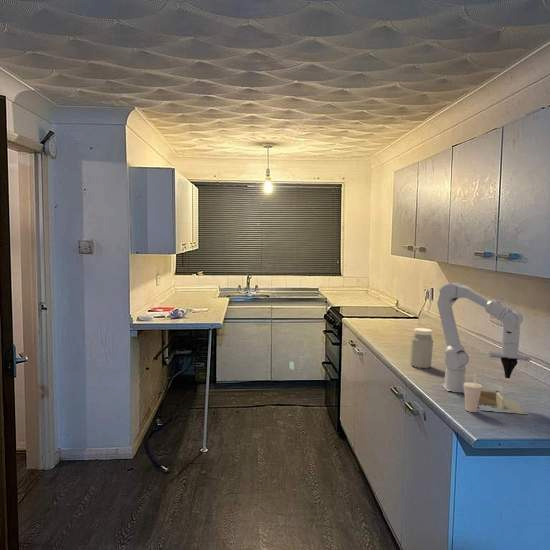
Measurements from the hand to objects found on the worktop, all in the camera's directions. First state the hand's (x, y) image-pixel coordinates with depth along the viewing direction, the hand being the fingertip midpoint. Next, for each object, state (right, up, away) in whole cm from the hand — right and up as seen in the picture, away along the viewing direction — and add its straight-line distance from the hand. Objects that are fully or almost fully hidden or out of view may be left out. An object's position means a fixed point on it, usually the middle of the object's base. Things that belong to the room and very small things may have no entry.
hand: (507, 377), depth 190 cm
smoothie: (-18, -10, -10) cm, 23 cm away
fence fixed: (-9, -10, 0) cm, 13 cm away
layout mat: (-5, -10, -3) cm, 11 cm away
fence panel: (-5, -10, -5) cm, 12 cm away
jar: (-19, -5, +49) cm, 53 cm away
